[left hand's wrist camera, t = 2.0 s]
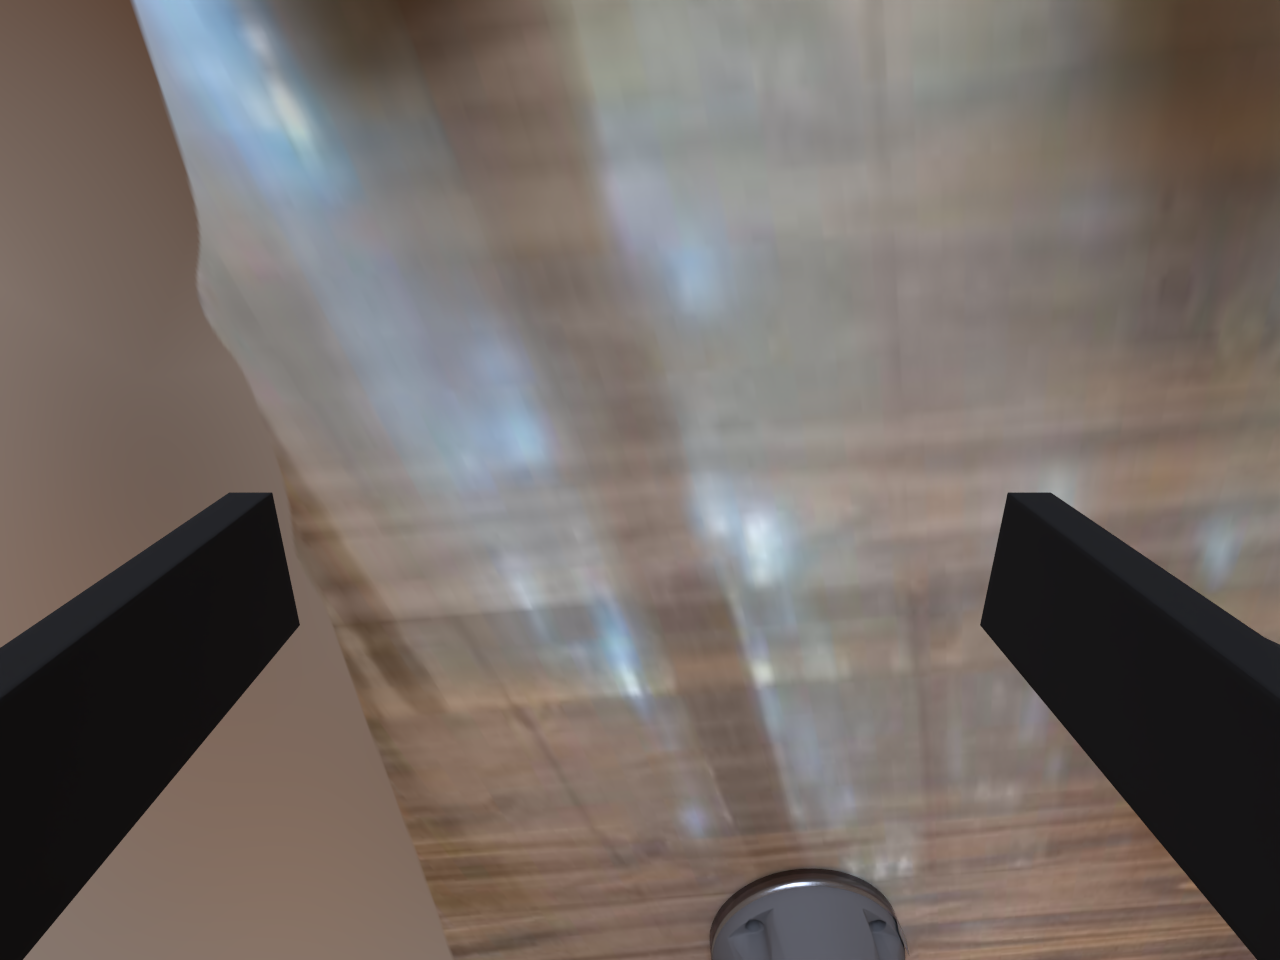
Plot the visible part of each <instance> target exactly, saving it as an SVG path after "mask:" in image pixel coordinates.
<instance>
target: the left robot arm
mask: <svg viewBox="0 0 1280 960" xmlns="http://www.w3.org/2000/svg"><path fill="white" fill-rule="evenodd" d="M299 625H300V624H299V619H298V614H297V609H296V605H295V600H294V595H293V590H292V585H291V581H290V576H289V571H288V566H287V562H286V557H285V552H284V547H283V542H282V538H281V533H280V528H279V523H278V518H277V514H276V509H275V504H274V499H273V494H272V493H228V494H227V495H225V496H224V497H222V498H221V499H219V500H218V501H216V502H215V503H213V504H212V505H210V506H209V507H207V508H206V509H205V510H203V511H202V512H200V513H199V514H197V515H196V516H194V517H193V518H191V519H190V520H188V521H187V522H185V523H184V524H182V525H181V526H179V527H178V528H176V529H175V530H174V531H172V532H171V533H169V534H168V535H166V536H165V537H163V538H162V539H160V540H159V541H157V542H156V543H154V544H153V545H151V546H150V547H148V548H147V549H146V550H144V551H143V552H141V553H140V554H138V555H137V556H135V557H134V558H132V559H131V560H129V561H128V562H126V563H125V564H123V565H122V566H120V567H119V568H118V569H116V570H115V571H113V572H112V573H110V574H109V575H107V576H106V577H104V578H103V579H101V580H100V581H98V582H97V583H95V584H94V585H92V586H91V587H90V588H88V589H87V590H85V591H84V592H82V593H81V594H79V595H78V596H76V597H75V598H73V599H72V600H70V601H69V602H67V603H66V604H64V605H63V606H61V607H60V608H59V609H57V610H56V611H54V612H53V613H51V614H50V615H48V616H47V617H45V618H44V619H42V620H41V621H39V622H38V623H36V624H35V625H33V626H32V627H31V628H29V629H28V630H26V631H25V632H23V633H22V634H20V635H19V636H17V637H16V638H14V639H13V640H11V641H10V642H8V643H7V644H5V645H4V646H3V647H1V648H0V960H23V959H24V958H25V956H26V955H27V954H28V953H29V952H30V950H31V949H32V948H33V947H34V945H35V944H36V943H37V942H38V941H39V939H40V938H41V937H42V936H43V935H44V933H45V932H46V931H47V930H48V929H49V927H50V926H51V925H52V924H53V923H54V921H55V920H56V919H57V918H58V916H59V915H60V914H61V913H62V912H63V910H64V909H65V908H66V907H67V906H68V904H69V903H70V902H71V901H72V900H73V898H74V897H75V896H76V895H77V894H78V892H79V891H80V890H81V889H82V887H83V886H84V885H85V884H86V883H87V881H88V880H89V879H90V878H91V877H92V875H93V874H94V873H95V872H96V871H97V869H98V868H99V867H100V866H101V865H102V863H103V862H104V861H105V860H106V858H107V857H108V856H109V855H110V854H111V852H112V851H113V850H114V849H115V848H116V846H117V845H118V844H119V843H120V842H121V840H122V839H123V838H124V837H125V836H126V834H127V833H128V832H129V831H130V830H131V828H132V827H133V826H134V825H135V823H136V822H137V821H138V820H139V819H140V817H141V816H142V815H143V814H144V813H145V811H146V810H147V809H148V808H149V807H150V805H151V804H152V803H153V802H154V801H155V799H156V798H157V797H158V796H159V794H160V793H161V792H162V791H163V790H164V788H165V787H166V786H167V785H168V784H169V782H170V781H171V780H172V779H173V778H174V776H175V775H176V774H177V773H178V772H179V770H180V769H181V768H182V767H183V766H184V764H185V763H186V762H187V761H188V759H189V758H190V757H191V756H192V755H193V753H194V752H195V751H196V750H197V749H198V747H199V746H200V745H201V744H202V743H203V741H204V740H205V739H206V738H207V736H208V735H209V734H210V733H211V732H212V730H213V729H214V728H215V727H216V726H217V724H218V723H219V722H220V721H221V720H222V718H223V717H224V716H225V715H226V714H227V712H228V711H229V710H230V709H231V708H232V706H233V705H234V704H235V703H236V701H237V700H238V699H239V698H240V697H241V695H242V694H243V693H244V692H245V691H246V689H247V688H248V687H249V686H250V685H251V683H252V682H253V681H254V680H255V679H256V677H257V676H258V675H259V674H260V672H261V671H262V670H263V669H264V668H265V666H266V665H267V664H268V663H269V662H270V660H271V659H272V658H273V657H274V656H275V654H276V653H277V652H278V651H279V650H280V648H281V647H282V646H283V645H284V643H285V642H286V641H287V640H288V639H289V637H290V636H291V635H292V634H293V633H294V631H295V630H296V629H297V628H298V626H299ZM980 625H981V627H982V628H983V629H984V630H985V631H986V633H987V634H988V635H989V636H990V637H991V639H992V640H993V641H994V642H995V644H996V645H997V646H998V647H999V648H1000V650H1001V651H1002V652H1003V653H1004V654H1005V656H1006V657H1007V658H1008V659H1009V660H1010V662H1011V663H1012V664H1013V665H1014V666H1015V668H1016V669H1017V670H1018V671H1019V672H1020V674H1021V675H1022V676H1023V677H1024V679H1025V680H1026V681H1027V682H1028V683H1029V685H1030V686H1031V687H1032V688H1033V689H1034V691H1035V692H1036V693H1037V694H1038V695H1039V697H1040V698H1041V699H1042V700H1043V701H1044V703H1045V704H1046V705H1047V706H1048V708H1049V709H1050V710H1051V711H1052V712H1053V714H1054V715H1055V716H1056V717H1057V718H1058V720H1059V721H1060V722H1061V723H1062V724H1063V726H1064V727H1065V728H1066V729H1067V730H1068V732H1069V733H1070V734H1071V735H1072V737H1073V738H1074V739H1075V740H1076V741H1077V743H1078V744H1079V745H1080V746H1081V747H1082V749H1083V750H1084V751H1085V752H1086V753H1087V755H1088V756H1089V757H1090V758H1091V759H1092V761H1093V762H1094V763H1095V764H1096V766H1097V767H1098V768H1099V769H1100V770H1101V772H1102V773H1103V774H1104V775H1105V776H1106V778H1107V779H1108V780H1109V781H1110V782H1111V784H1112V785H1113V786H1114V787H1115V788H1116V790H1117V791H1118V792H1119V793H1120V795H1121V796H1122V797H1123V798H1124V799H1125V801H1126V802H1127V803H1128V804H1129V805H1130V807H1131V808H1132V809H1133V810H1134V811H1135V813H1136V814H1137V815H1138V816H1139V817H1140V819H1141V820H1142V821H1143V822H1144V823H1145V825H1146V826H1147V827H1148V828H1149V830H1150V831H1151V832H1152V833H1153V834H1154V836H1155V837H1156V838H1157V839H1158V840H1159V842H1160V843H1161V844H1162V845H1163V846H1164V848H1165V849H1166V850H1167V851H1168V852H1169V854H1170V855H1171V856H1172V857H1173V859H1174V860H1175V861H1176V862H1177V863H1178V865H1179V866H1180V867H1181V868H1182V869H1183V871H1184V872H1185V873H1186V874H1187V875H1188V877H1189V878H1190V879H1191V880H1192V881H1193V883H1194V884H1195V885H1196V886H1197V888H1198V889H1199V890H1200V891H1201V892H1202V894H1203V895H1204V896H1205V897H1206V898H1207V900H1208V901H1209V902H1210V903H1211V904H1212V906H1213V907H1214V908H1215V909H1216V910H1217V912H1218V913H1219V914H1220V915H1221V917H1222V918H1223V919H1224V920H1225V921H1226V923H1227V924H1228V925H1229V926H1230V927H1231V929H1232V930H1233V931H1234V932H1235V933H1236V935H1237V936H1238V937H1239V938H1240V939H1241V941H1242V942H1243V943H1244V944H1245V945H1246V947H1247V948H1248V949H1249V950H1250V952H1251V953H1252V954H1253V955H1254V956H1255V958H1256V959H1257V960H1280V645H1279V644H1277V643H1275V642H1273V641H1271V640H1269V639H1266V638H1264V637H1263V636H1261V635H1260V634H1258V633H1257V632H1255V631H1254V630H1252V629H1251V628H1249V627H1248V626H1247V625H1245V624H1244V623H1242V622H1241V621H1239V620H1238V619H1236V618H1235V617H1233V616H1232V615H1230V614H1229V613H1227V612H1226V611H1224V610H1223V609H1221V608H1220V607H1219V606H1217V605H1216V604H1214V603H1213V602H1211V601H1210V600H1208V599H1207V598H1205V597H1204V596H1202V595H1201V594H1199V593H1198V592H1196V591H1195V590H1193V589H1192V588H1191V587H1189V586H1188V585H1186V584H1185V583H1183V582H1182V581H1180V580H1179V579H1177V578H1176V577H1174V576H1173V575H1171V574H1170V573H1168V572H1167V571H1165V570H1164V569H1163V568H1161V567H1160V566H1158V565H1157V564H1155V563H1154V562H1152V561H1151V560H1149V559H1148V558H1146V557H1145V556H1143V555H1142V554H1140V553H1139V552H1137V551H1136V550H1134V549H1133V548H1132V547H1130V546H1129V545H1127V544H1126V543H1124V542H1123V541H1121V540H1120V539H1118V538H1117V537H1115V536H1114V535H1112V534H1111V533H1109V532H1108V531H1106V530H1105V529H1104V528H1102V527H1101V526H1099V525H1098V524H1096V523H1095V522H1093V521H1092V520H1090V519H1089V518H1087V517H1086V516H1084V515H1083V514H1081V513H1080V512H1078V511H1077V510H1076V509H1074V508H1073V507H1071V506H1070V505H1068V504H1067V503H1065V502H1064V501H1062V500H1061V499H1059V498H1058V497H1056V496H1055V495H1053V494H1052V493H1008V494H1007V499H1006V504H1005V509H1004V514H1003V518H1002V523H1001V528H1000V533H999V537H998V542H997V547H996V552H995V557H994V561H993V566H992V571H991V576H990V581H989V585H988V590H987V595H986V600H985V605H984V609H983V614H982V619H981V624H980ZM904 945H905V948H906V950H907V952H908V947H907V942H906V938H905V936H904V934H903V931H902V929H901V927H900V924H899V922H898V920H897V917H896V916H895V913H894V910H893V908H892V906H891V905H890V903H889V902H888V900H887V899H886V898H885V896H884V895H883V894H882V893H881V892H880V891H878V890H877V889H876V888H875V887H873V886H872V885H871V884H869V883H867V882H865V881H864V880H862V879H859V878H857V877H855V876H852V875H849V874H846V873H842V872H838V871H833V870H825V869H798V870H790V871H784V872H780V873H776V874H772V875H769V876H766V877H764V878H761V879H759V880H756V881H754V882H752V883H750V884H749V885H747V886H745V887H744V888H742V889H740V890H739V891H738V892H736V893H735V894H734V895H733V896H732V897H730V898H729V899H728V900H727V901H726V902H725V904H724V905H723V906H722V907H721V909H720V910H719V911H718V913H717V915H716V917H715V919H714V921H713V923H712V927H711V931H710V949H711V959H712V960H905V948H904ZM908 954H909V952H908Z"/></svg>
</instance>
